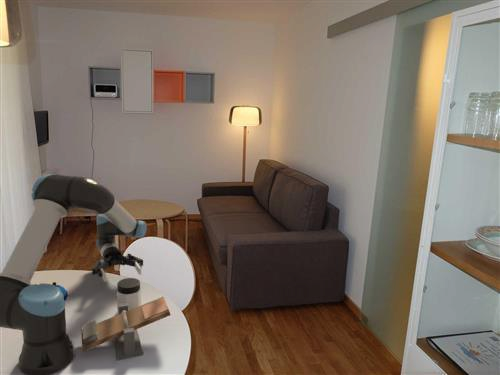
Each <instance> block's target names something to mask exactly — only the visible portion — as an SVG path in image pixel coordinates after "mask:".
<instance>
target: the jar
mask: <svg viewBox="0 0 500 375" xmlns="http://www.w3.org/2000/svg"><path fill="white" fill-rule="evenodd" d="M116 288H117V289H116V290H117V291H116V308H117V309H116V310H117V312H116V313H117V315H119V310H118V304H123V303H127V304H128V311H129V310H131V309H134V308H136V307H139V306H141V305H142V289H141V288H142V287H141V281H140V280H139V279H138V278H135V277H126V278H122V279H120V280H119V281H118V282H117V287H116Z"/></svg>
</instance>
